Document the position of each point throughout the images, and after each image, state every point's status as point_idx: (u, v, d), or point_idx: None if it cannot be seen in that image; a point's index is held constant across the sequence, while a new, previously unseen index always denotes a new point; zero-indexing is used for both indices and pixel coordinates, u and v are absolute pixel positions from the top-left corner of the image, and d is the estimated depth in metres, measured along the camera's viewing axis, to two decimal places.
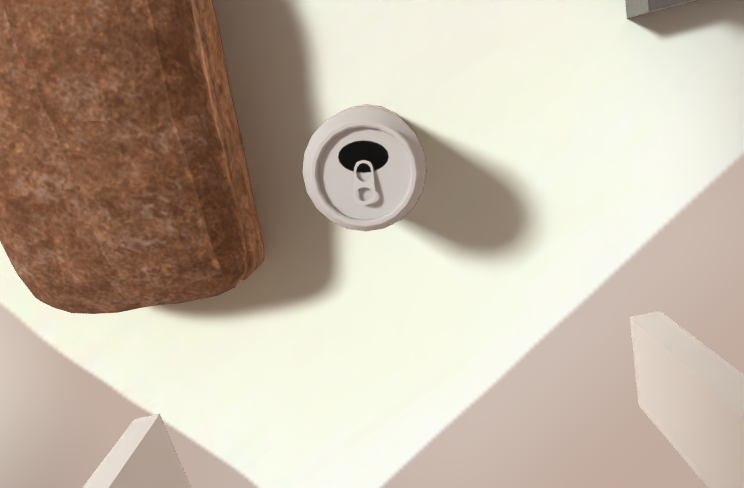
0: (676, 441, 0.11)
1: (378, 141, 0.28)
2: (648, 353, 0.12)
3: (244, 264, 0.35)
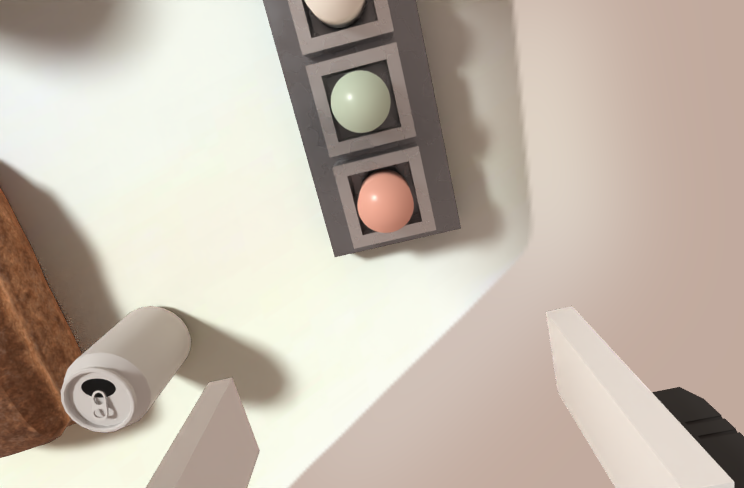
0: (580, 422, 0.13)
1: (106, 378, 0.40)
2: (558, 344, 0.13)
3: (62, 420, 0.47)
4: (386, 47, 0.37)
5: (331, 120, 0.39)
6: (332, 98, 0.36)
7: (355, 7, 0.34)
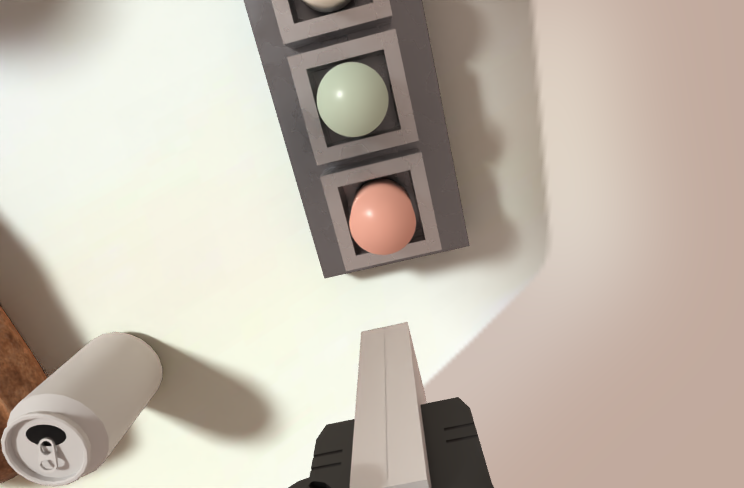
0: None
1: (55, 425, 0.34)
2: None
3: None
4: (383, 35, 0.31)
5: (318, 121, 0.33)
6: (318, 95, 0.30)
7: None
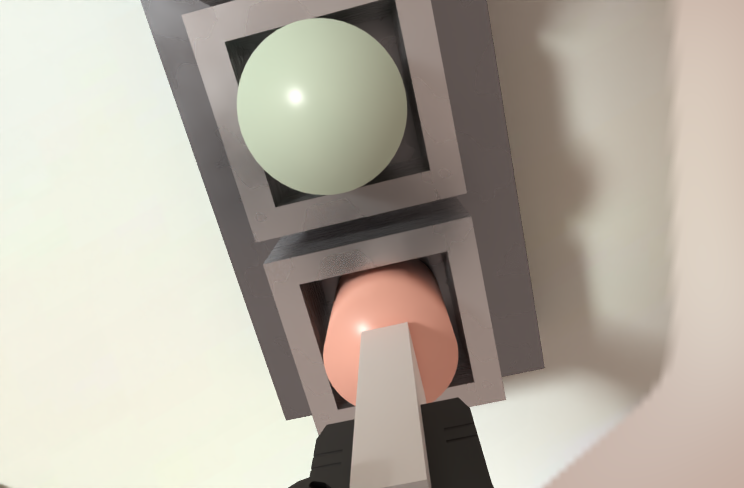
0: None
1: None
2: None
3: None
4: None
5: None
6: (241, 100, 0.12)
7: None
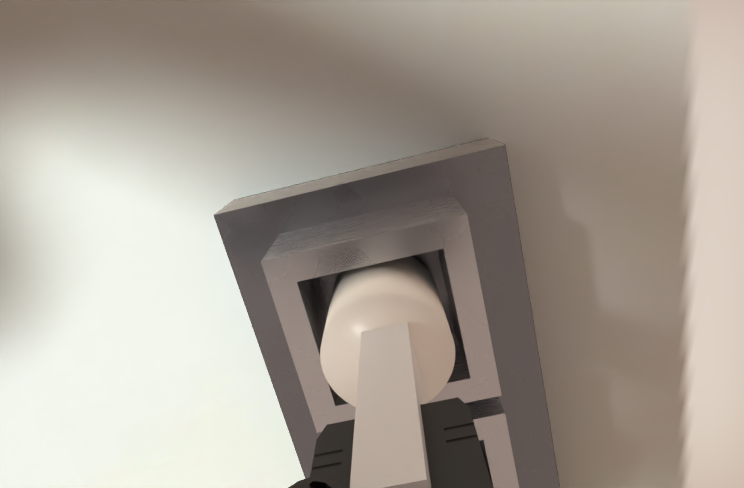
0: None
1: None
2: None
3: None
4: (484, 421, 0.19)
5: None
6: None
7: (434, 394, 0.16)
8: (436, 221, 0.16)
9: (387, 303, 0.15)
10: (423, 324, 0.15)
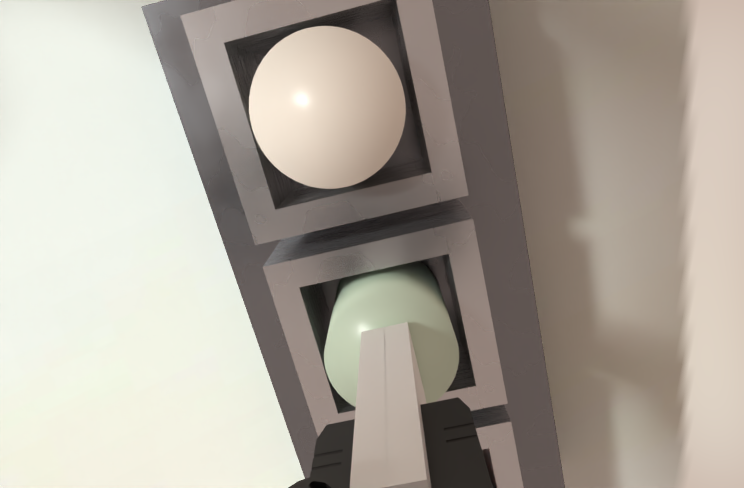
0: None
1: None
2: None
3: None
4: (449, 230, 0.16)
5: (322, 373, 0.18)
6: (327, 351, 0.16)
7: (383, 162, 0.14)
8: None
9: (324, 38, 0.13)
10: (367, 67, 0.13)
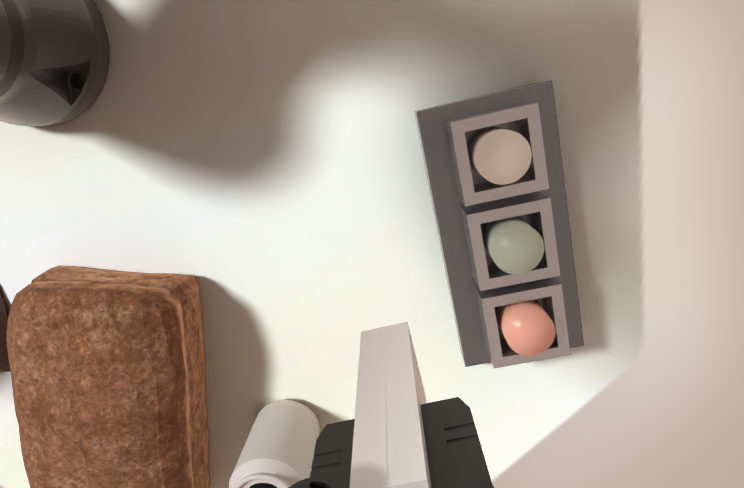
0: None
1: (272, 483, 0.45)
2: None
3: None
4: (541, 202, 0.42)
5: (485, 260, 0.43)
6: (493, 246, 0.41)
7: (521, 175, 0.40)
8: (525, 105, 0.39)
9: (506, 134, 0.39)
10: (519, 143, 0.39)
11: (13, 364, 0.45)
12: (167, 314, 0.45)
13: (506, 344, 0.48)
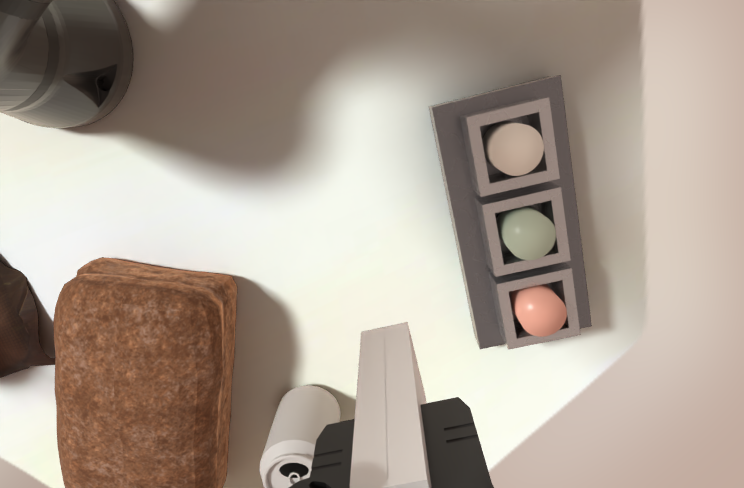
0: None
1: (302, 463, 0.47)
2: None
3: None
4: (552, 191, 0.44)
5: (499, 247, 0.46)
6: (508, 234, 0.44)
7: (534, 167, 0.42)
8: (536, 100, 0.42)
9: (519, 127, 0.41)
10: (532, 136, 0.41)
11: (60, 352, 0.46)
12: (212, 314, 0.47)
13: (519, 326, 0.50)
